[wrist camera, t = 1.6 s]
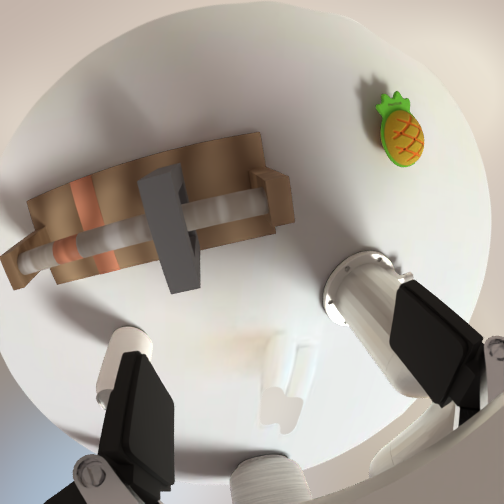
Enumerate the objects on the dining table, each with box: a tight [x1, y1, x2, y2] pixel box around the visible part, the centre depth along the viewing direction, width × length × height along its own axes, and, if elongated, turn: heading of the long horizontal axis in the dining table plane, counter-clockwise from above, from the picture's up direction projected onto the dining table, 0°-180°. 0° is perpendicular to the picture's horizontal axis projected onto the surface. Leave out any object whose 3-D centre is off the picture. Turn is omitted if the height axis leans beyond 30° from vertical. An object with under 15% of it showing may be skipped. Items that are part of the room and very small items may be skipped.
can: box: [96, 327, 153, 410], centre depth 31 cm, size 6×6×12 cm
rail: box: [0, 132, 295, 290], centre depth 26 cm, size 30×12×10 cm, turn 100°
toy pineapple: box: [376, 91, 424, 167], centre depth 29 cm, size 7×10×5 cm
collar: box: [137, 163, 200, 294], centre depth 23 cm, size 2×9×9 cm, turn 10°
